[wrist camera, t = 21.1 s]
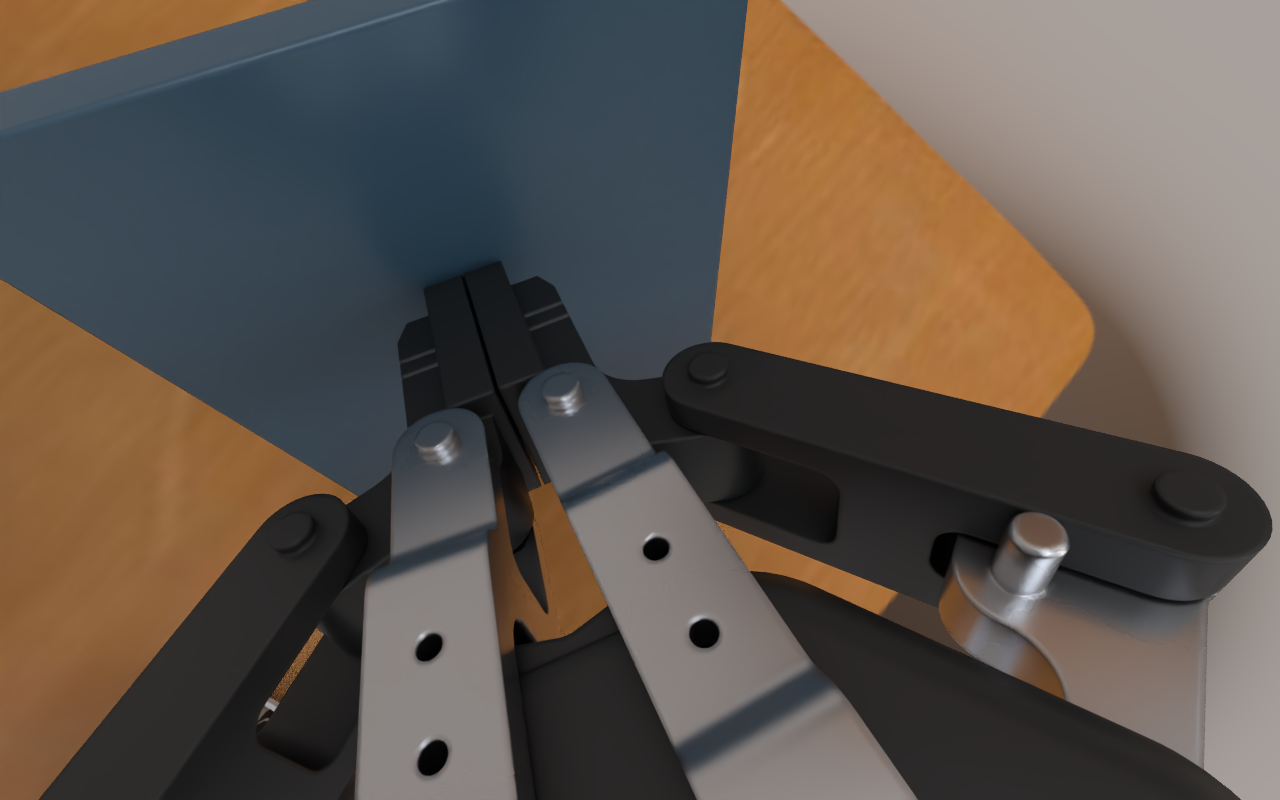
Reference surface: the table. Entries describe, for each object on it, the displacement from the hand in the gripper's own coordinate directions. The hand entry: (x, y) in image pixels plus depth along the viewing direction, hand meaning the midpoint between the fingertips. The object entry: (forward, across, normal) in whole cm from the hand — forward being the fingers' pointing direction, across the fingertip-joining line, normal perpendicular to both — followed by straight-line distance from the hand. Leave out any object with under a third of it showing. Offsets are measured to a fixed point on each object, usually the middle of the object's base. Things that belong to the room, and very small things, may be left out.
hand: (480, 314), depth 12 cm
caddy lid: (+1, 0, 0) cm, 1 cm away
